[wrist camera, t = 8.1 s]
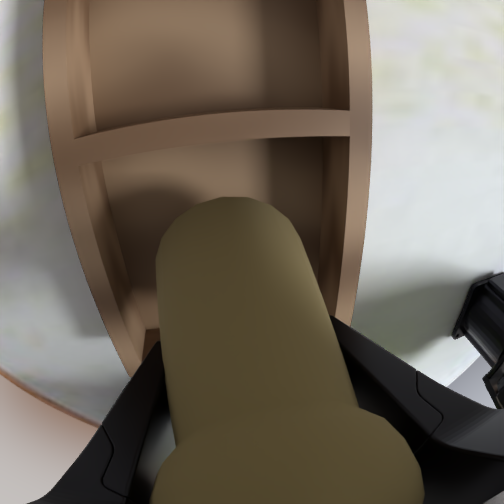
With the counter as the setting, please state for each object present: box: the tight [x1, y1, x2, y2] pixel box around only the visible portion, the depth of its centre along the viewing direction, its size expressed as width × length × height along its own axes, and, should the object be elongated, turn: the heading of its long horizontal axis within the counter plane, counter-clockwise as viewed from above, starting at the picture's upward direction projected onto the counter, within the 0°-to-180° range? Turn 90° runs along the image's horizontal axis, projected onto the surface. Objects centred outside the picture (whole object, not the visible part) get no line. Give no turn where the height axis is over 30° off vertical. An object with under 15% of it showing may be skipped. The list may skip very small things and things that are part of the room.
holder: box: [43, 0, 372, 377], centre depth 11 cm, size 23×12×4 cm, turn 3°
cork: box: [149, 197, 425, 504], centre depth 7 cm, size 6×6×11 cm
